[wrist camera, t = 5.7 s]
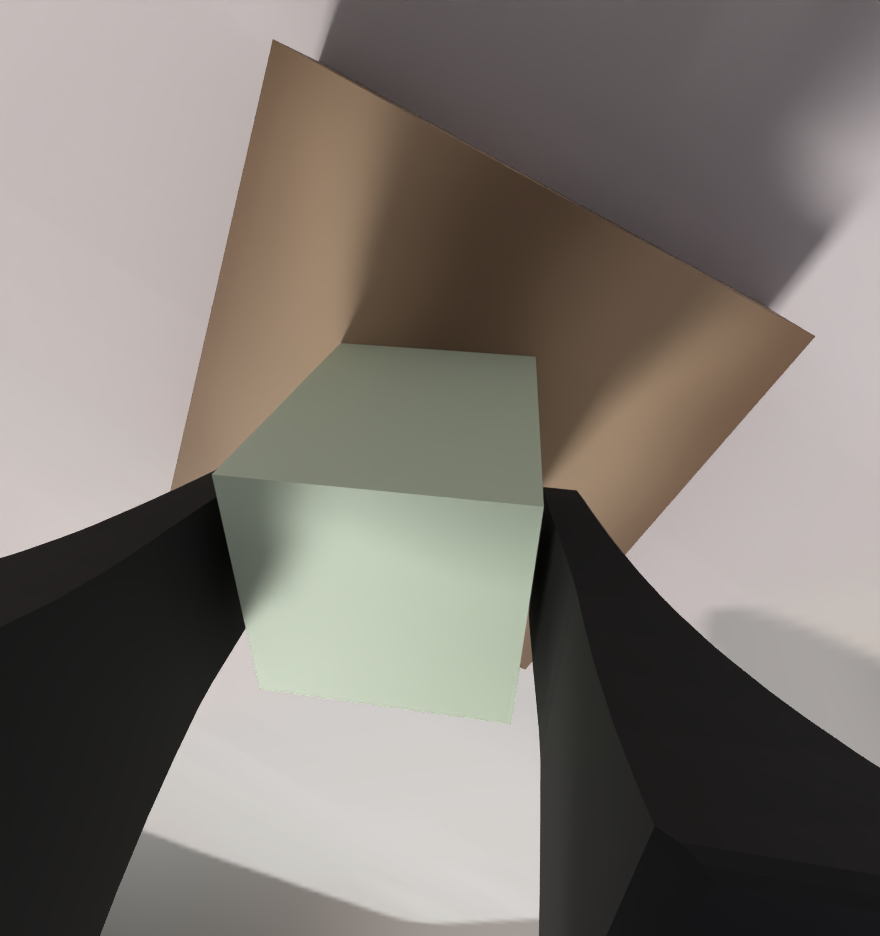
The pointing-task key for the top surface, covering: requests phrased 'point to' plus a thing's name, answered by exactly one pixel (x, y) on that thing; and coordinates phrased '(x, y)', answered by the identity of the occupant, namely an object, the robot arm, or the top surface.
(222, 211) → the top surface
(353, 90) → the walnut block
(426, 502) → the sage block
